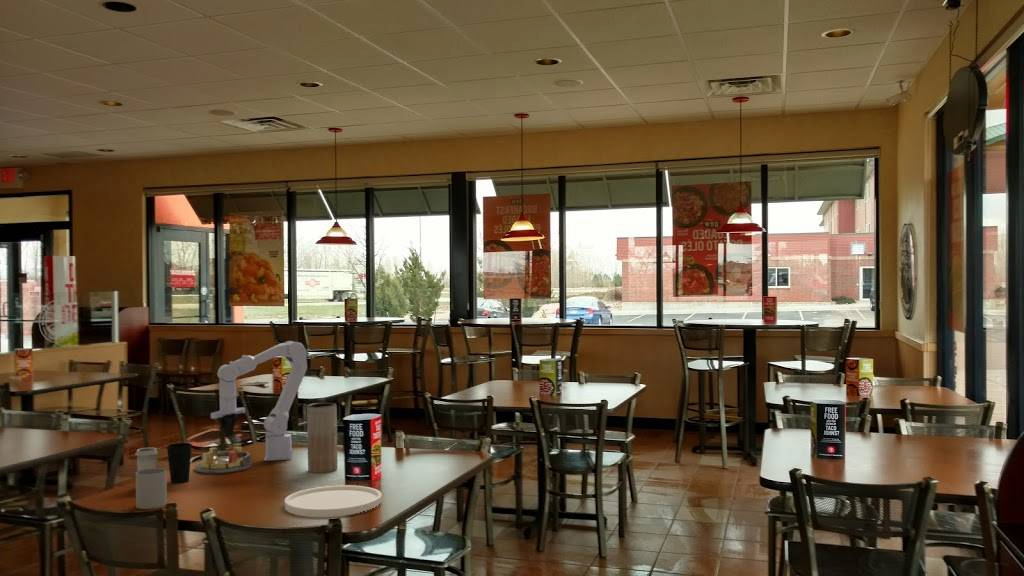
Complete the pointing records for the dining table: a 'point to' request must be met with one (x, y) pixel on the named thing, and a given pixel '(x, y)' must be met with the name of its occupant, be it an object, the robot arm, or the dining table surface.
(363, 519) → the dining table surface
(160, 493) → the cup
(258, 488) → the dining table surface
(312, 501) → the plate
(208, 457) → the ring nut
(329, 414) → the planter
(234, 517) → the dining table surface
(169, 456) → the cup
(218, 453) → the round serving tray
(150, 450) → the cup
